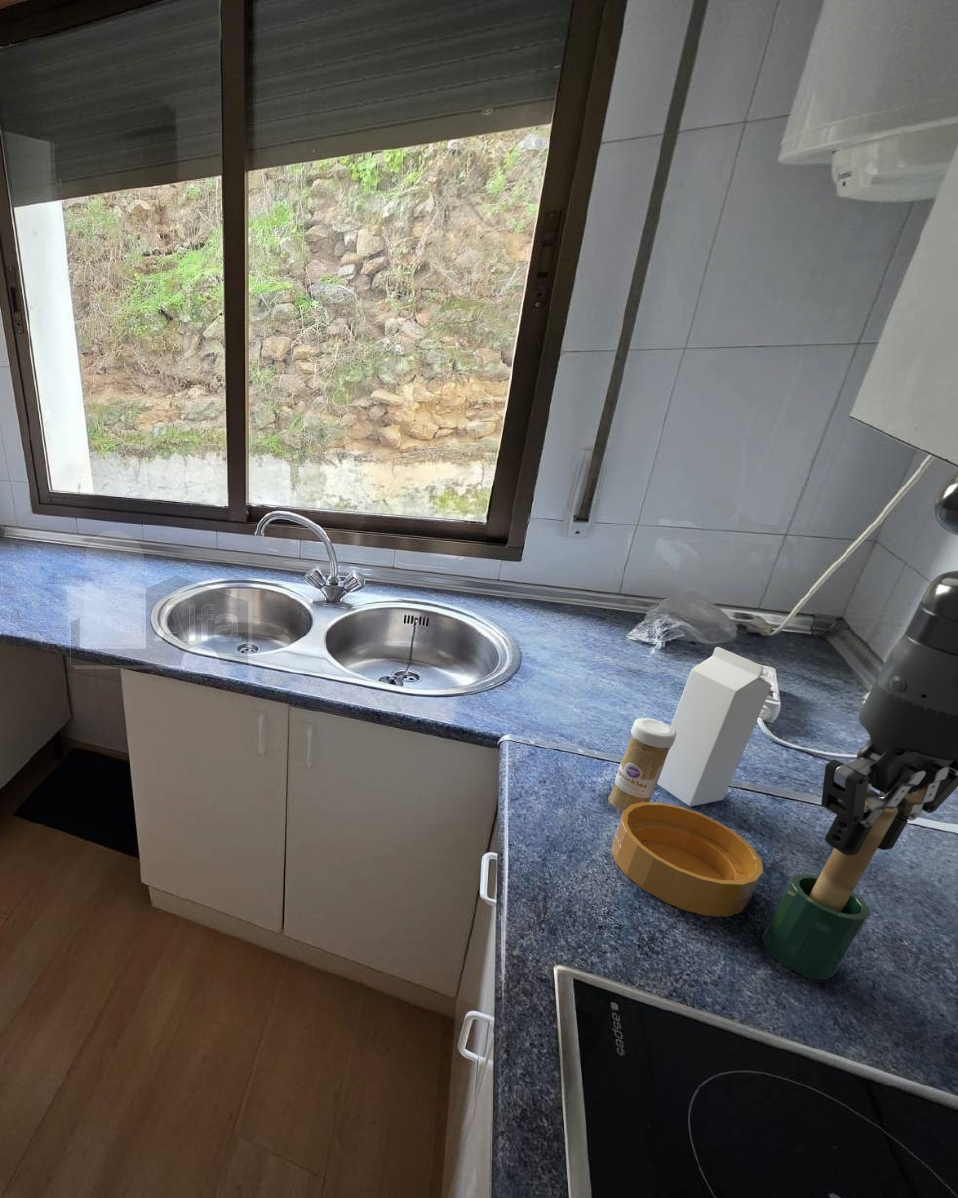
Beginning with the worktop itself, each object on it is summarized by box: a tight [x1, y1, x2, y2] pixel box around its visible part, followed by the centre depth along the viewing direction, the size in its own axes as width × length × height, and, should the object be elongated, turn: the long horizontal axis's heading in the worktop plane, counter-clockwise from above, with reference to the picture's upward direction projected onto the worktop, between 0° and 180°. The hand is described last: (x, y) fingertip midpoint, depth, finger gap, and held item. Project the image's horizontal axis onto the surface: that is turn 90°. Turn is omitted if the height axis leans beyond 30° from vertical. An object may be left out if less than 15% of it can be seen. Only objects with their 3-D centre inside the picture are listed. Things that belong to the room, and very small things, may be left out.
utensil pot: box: [761, 873, 871, 980], centre depth 65 cm, size 6×6×9 cm
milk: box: [657, 646, 773, 807], centre depth 87 cm, size 6×6×22 cm
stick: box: [809, 800, 898, 913], centre depth 63 cm, size 2×2×20 cm
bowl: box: [610, 801, 764, 918], centre depth 76 cm, size 13×13×6 cm
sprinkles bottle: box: [607, 717, 676, 812], centre depth 85 cm, size 5×5×13 cm
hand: (857, 845), depth 61 cm, fingers open, 3 cm apart
